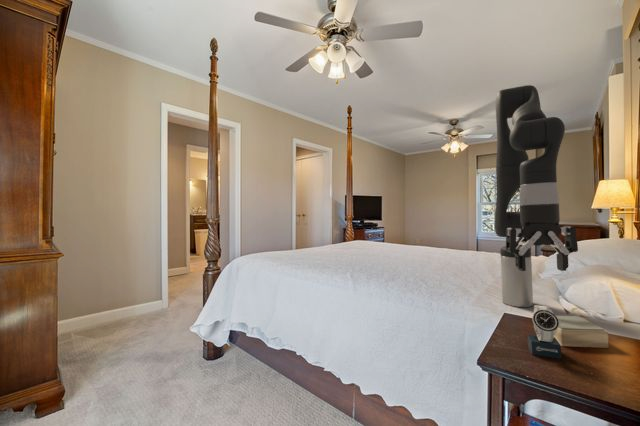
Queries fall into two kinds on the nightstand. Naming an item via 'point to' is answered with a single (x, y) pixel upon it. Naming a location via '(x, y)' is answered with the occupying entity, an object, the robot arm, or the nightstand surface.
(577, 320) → the oak riser
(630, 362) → the nightstand surface
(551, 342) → the watch
